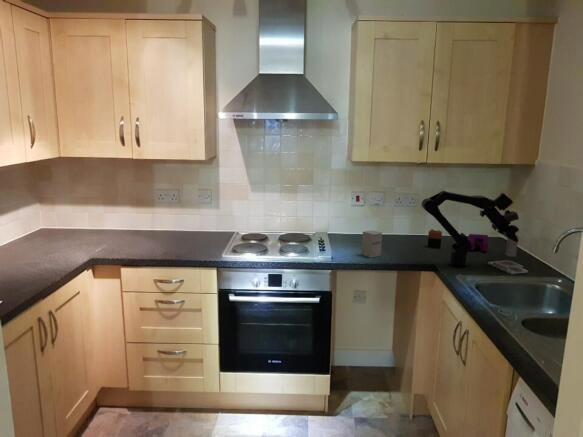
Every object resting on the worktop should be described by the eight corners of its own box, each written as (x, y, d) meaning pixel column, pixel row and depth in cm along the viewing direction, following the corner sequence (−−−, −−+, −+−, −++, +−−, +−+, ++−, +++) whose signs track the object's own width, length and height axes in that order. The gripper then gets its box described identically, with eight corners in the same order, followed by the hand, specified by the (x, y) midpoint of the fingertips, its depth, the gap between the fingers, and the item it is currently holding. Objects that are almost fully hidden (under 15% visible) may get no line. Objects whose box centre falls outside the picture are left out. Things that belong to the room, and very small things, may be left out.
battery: (428, 245, 264) (429, 228, 262) (440, 247, 261) (442, 229, 259) (427, 247, 260) (428, 230, 258) (440, 249, 257) (441, 231, 255)
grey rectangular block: (508, 256, 224) (511, 236, 222) (505, 253, 228) (508, 234, 226) (516, 256, 224) (519, 236, 222) (512, 254, 228) (515, 234, 226)
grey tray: (511, 274, 216) (512, 269, 216) (487, 263, 232) (488, 259, 231) (528, 272, 219) (528, 268, 218) (503, 262, 234) (503, 258, 234)
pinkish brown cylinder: (370, 258, 238) (372, 234, 235) (361, 254, 244) (362, 231, 241) (381, 256, 242) (382, 232, 239) (371, 252, 248) (372, 229, 245)
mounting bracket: (463, 254, 268) (469, 249, 251) (463, 240, 270) (469, 234, 253) (480, 255, 267) (488, 250, 249) (480, 241, 268) (488, 235, 251)
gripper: (517, 209, 212) (538, 234, 214) (501, 202, 230) (520, 225, 232) (497, 225, 214) (518, 249, 216) (483, 217, 232) (502, 239, 234)
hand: (515, 240), depth 224 cm, fingers closed on grey rectangular block, 4 cm apart
